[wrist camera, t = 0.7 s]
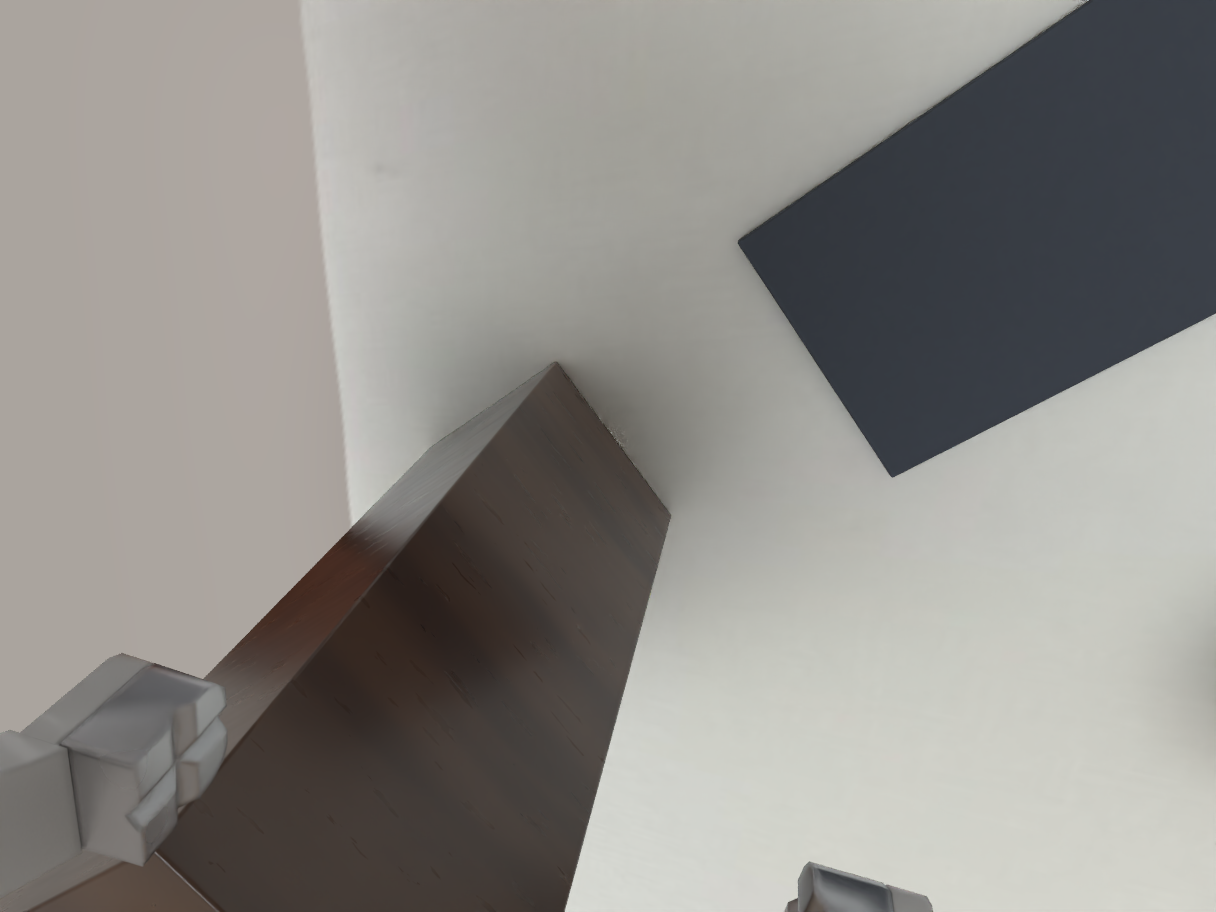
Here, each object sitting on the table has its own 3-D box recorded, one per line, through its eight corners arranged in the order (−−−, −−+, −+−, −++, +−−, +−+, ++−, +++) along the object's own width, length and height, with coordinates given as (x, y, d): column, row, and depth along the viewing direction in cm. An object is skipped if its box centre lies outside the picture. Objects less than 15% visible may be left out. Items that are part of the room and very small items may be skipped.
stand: (556, 360, 36) (151, 847, 13) (672, 515, 39) (495, 1174, 15) (429, 447, 40) (-80, 966, 16) (542, 587, 42) (232, 1224, 18)
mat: (1224, -93, 26) (1231, -96, 25) (1368, 229, 29) (1377, 231, 28) (737, 240, 33) (737, 242, 32) (890, 473, 36) (891, 478, 35)
